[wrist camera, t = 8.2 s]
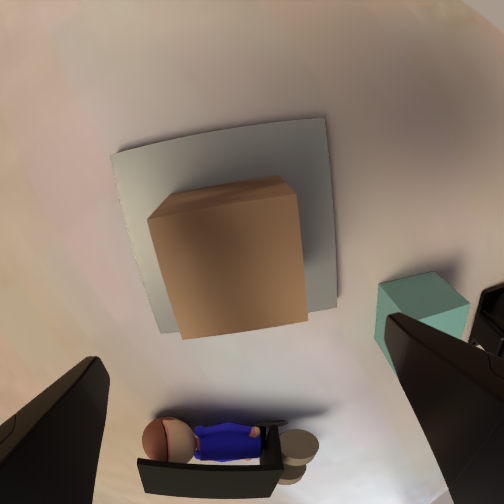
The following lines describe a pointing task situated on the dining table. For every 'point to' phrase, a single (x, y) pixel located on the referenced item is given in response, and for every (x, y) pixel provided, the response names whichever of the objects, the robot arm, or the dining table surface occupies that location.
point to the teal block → (421, 305)
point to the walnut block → (231, 257)
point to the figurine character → (222, 459)
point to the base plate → (227, 171)
